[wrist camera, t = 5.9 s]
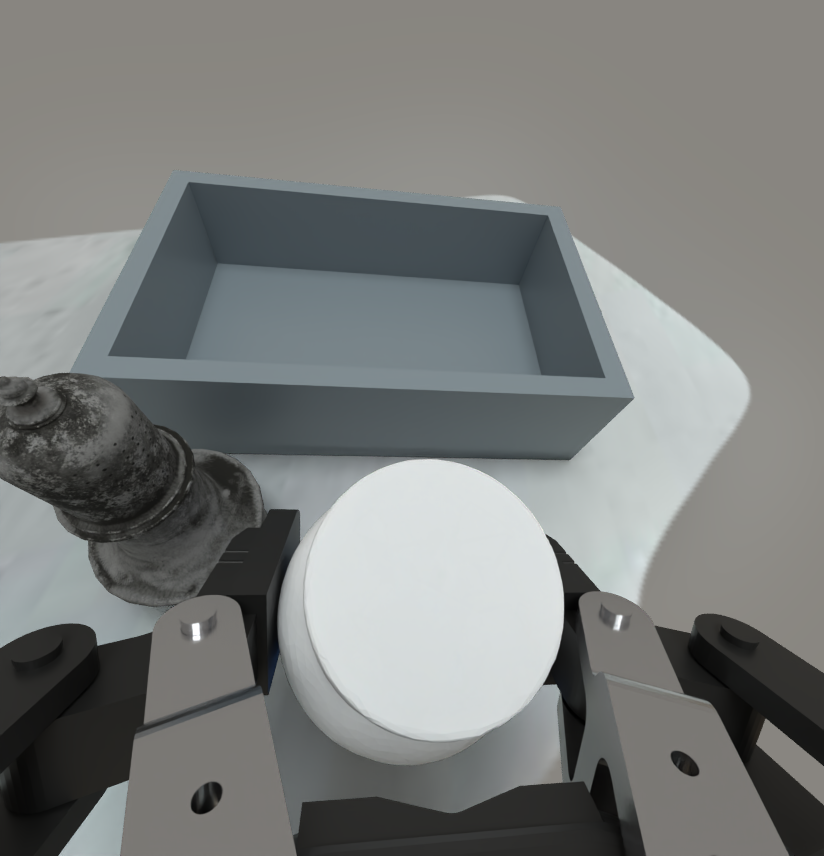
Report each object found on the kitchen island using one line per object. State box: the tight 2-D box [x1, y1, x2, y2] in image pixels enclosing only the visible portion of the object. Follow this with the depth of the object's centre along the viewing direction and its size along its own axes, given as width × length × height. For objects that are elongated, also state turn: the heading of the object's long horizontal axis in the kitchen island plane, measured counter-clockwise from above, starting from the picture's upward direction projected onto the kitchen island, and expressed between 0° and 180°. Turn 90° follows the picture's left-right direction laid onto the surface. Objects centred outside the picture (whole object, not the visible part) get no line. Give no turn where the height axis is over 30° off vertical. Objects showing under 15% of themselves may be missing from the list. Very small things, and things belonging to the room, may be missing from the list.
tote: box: [70, 170, 634, 460], centre depth 22 cm, size 22×14×6 cm, turn 92°
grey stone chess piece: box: [0, 373, 268, 607], centre depth 12 cm, size 6×6×12 cm
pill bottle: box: [277, 459, 564, 765], centre depth 10 cm, size 6×5×10 cm
